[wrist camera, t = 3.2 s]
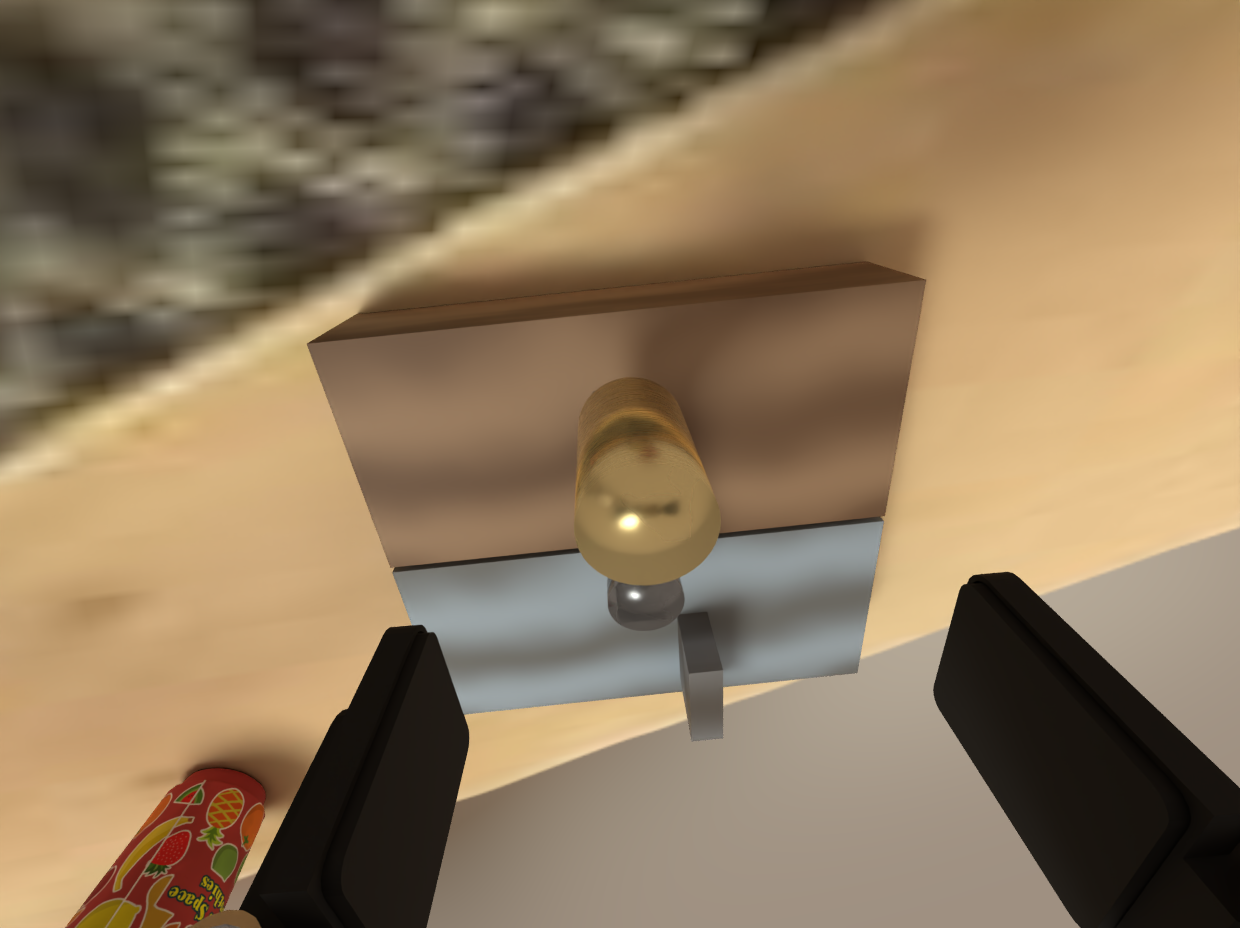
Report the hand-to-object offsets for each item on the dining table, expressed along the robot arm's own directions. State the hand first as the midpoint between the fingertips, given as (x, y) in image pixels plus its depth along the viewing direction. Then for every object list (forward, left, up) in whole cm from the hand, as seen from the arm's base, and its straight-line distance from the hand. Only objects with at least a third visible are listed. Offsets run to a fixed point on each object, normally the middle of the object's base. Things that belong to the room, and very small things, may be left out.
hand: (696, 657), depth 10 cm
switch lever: (+4, -1, -11) cm, 12 cm away
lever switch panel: (+8, -1, -19) cm, 21 cm away
